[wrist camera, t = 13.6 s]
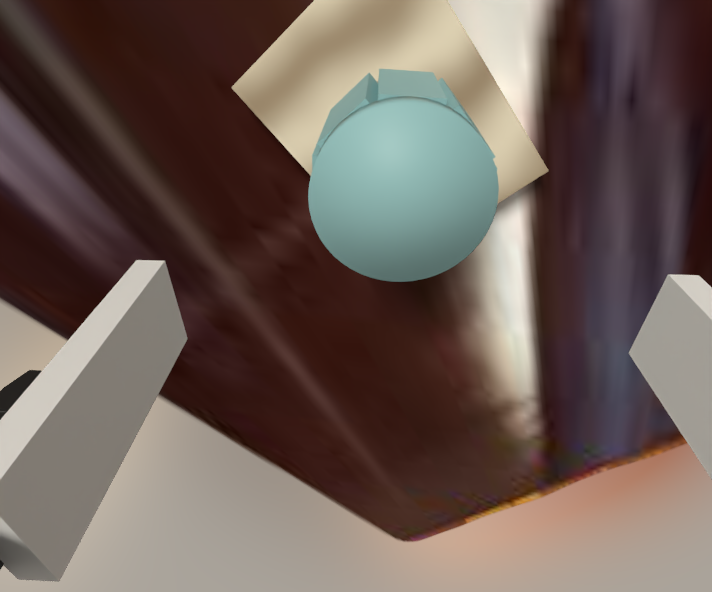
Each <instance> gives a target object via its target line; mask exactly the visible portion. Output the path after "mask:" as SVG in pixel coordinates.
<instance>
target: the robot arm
mask: <svg viewBox="0 0 712 592" xmlns="http://www.w3.org/2000/svg"><path fill="white" fill-rule="evenodd" d="M187 339H188V338H187V335H186V331H185V328H184V325H183V321H182V318H181V314H180V311H179V307H178V304H177V301H176V297H175V294H174V290H173V287H172V283H171V280H170V277H169V273H168V270H167V266H166V263H165V261H153V260H136V261H135V263H134V264H133V265H132V266H131V267H130V268H129V270H128V271H127V272H126V273H125V274H124V275H123V277H122V278H121V279H120V280H119V281H118V282H117V284H116V285H115V286H114V287H113V288H112V290H111V291H110V292H109V293H108V294H107V295H106V297H105V298H104V299H103V300H102V301H101V302H100V304H99V305H98V306H97V307H96V308H95V309H94V311H93V312H92V313H91V314H90V315H89V316H88V318H87V319H86V320H85V321H84V322H83V323H82V325H81V326H80V327H79V328H78V329H77V331H76V332H75V333H74V334H73V335H72V336H71V338H70V339H69V340H68V341H67V342H66V343H65V345H64V346H63V347H62V348H61V349H60V351H59V352H58V353H57V354H56V355H55V356H54V358H53V359H52V360H51V361H50V362H49V363H48V365H47V366H46V367H45V368H44V369H43V370H42V371H36V370H29V371H27V372H26V373H25V374H23V375H22V376H20V377H19V378H17V379H16V380H14V381H13V382H11V383H10V384H9V385H7V386H6V387H4V388H3V389H2V390H1V391H0V569H1V567H2V566H3V565H4V566H5V567H6V568H7V569H8V570H9V571H10V572H11V573H12V574H13V575H14V576H15V577H16V578H17V579H21V580H41V581H60V579H61V577H62V575H63V573H64V571H65V569H66V568H67V566H68V564H69V562H70V560H71V558H72V556H73V554H74V552H75V551H76V549H77V546H78V545H79V543H80V541H81V539H82V537H83V535H84V534H85V531H86V530H87V528H88V526H89V524H90V522H91V520H92V518H93V516H94V515H95V513H96V511H97V509H98V507H99V505H100V503H101V501H102V499H103V498H104V496H105V494H106V492H107V490H108V488H109V486H110V484H111V482H112V481H113V479H114V477H115V475H116V473H117V471H118V469H119V467H120V465H121V464H122V462H123V460H124V458H125V456H126V454H127V452H128V450H129V448H130V447H131V445H132V443H133V441H134V439H135V437H136V435H137V433H138V431H139V429H140V428H141V426H142V424H143V422H144V420H145V418H146V416H147V414H148V413H149V411H150V409H151V407H152V405H153V403H154V401H155V399H156V397H157V395H158V394H159V392H160V390H161V388H162V386H163V384H164V382H165V380H166V378H167V377H168V375H169V373H170V371H171V369H172V367H173V365H174V363H175V361H176V360H177V358H178V356H179V354H180V352H181V350H182V348H183V346H184V344H185V343H186V341H187ZM629 354H630V356H631V358H632V359H633V361H634V362H635V364H636V365H637V367H638V368H639V370H640V371H641V373H642V374H643V376H644V377H645V379H646V380H647V382H648V383H649V385H650V386H651V388H652V389H653V391H654V392H655V394H656V396H657V397H658V399H659V400H660V402H661V403H662V405H663V406H664V408H665V409H666V411H667V412H668V414H669V415H670V417H671V418H672V420H673V421H674V423H675V424H676V426H677V427H678V429H679V430H680V432H681V434H682V435H683V437H684V438H685V440H686V441H687V443H688V444H689V446H690V447H691V449H692V450H693V452H694V453H695V455H696V456H697V458H698V459H699V461H700V462H701V464H702V465H703V467H704V468H705V470H706V471H707V473H708V474H709V476H710V478H711V479H712V287H710V286H709V285H708V284H707V283H706V282H705V281H704V280H703V279H702V278H701V277H700V276H699V275H668V276H667V278H666V280H665V282H664V284H663V286H662V288H661V290H660V292H659V294H658V296H657V298H656V300H655V302H654V304H653V306H652V308H651V310H650V312H649V314H648V316H647V318H646V320H645V322H644V323H643V325H642V327H641V329H640V331H639V333H638V335H637V337H636V339H635V341H634V343H633V345H632V347H631V349H630V351H629Z"/></svg>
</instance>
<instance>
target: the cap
mask: <svg viewBox="0 0 712 592" xmlns="http://www.w3.org/2000/svg"><path fill="white" fill-rule="evenodd" d="M494 158H495V155H494V154H493V152H492V150H491V149H490V147H489V146H488V144H487V143H486V141H485V139H484V138H483V136H482V135H481V133H480V132H479V130H478V128H477V127H476V125H475V124H474V122H473V121H472V119H471V118H470V116H469V115H468V113H467V112H466V111H465V109H464V108H463V106H462V105H461V104H460V102H459V101H458V99H457V98H456V96H455V95H454V94H453V92H452V91H451V89H450V88H449V87H448V85H447V84H446V82H445V81H444V80H443V78H441V79H440V80H439V81H437V79H436V77H435V75H434V73H433V72H421V71H407V70H393V69H379V78H378V83H377V81H376V80H375V79H374V78H373V76H372V75H371V74H370V72H369V73H368V74H367V75H366V76H365V77H364V78H363V79H362V80H361V81H360V82H359V83H358V84H357V85H356V86H355V87H353V88H352V89H351V90H350V91H349V92H348V93H347V94H346V95H345V96H344V97H343V98H342V99H341V100H340V101H339V102H338V103H337V104H336V105H335V106H334V107H333V108H332V109H331V110H330V112H329V115H328V117H327V119H326V122H325V124H324V127H323V129H322V132H321V134H320V137H319V139H318V142H317V144H316V147H315V149H314V152H313V154H312V173H311V178H310V183H309V194H308V199H309V210H310V214H311V219H312V222H313V224H314V227H315V230H316V232H317V234H318V236H319V237H320V239H321V241H322V242H323V244H324V245H325V246H326V248H327V249H328V250H329V251H330V252H331V253H332V255H333V256H334V257H336V258H337V259H338V260H339V261H340V262H341V263H343V264H344V265H346V266H347V267H349V268H350V269H352V270H354V271H356V272H358V273H360V274H362V275H365V276H368V277H371V278H375V279H379V280H384V281H392V282H406V281H416V280H421V279H426V278H429V277H432V276H435V275H438V274H440V273H442V272H444V271H447V270H448V269H450V268H452V267H453V266H455V265H457V264H458V263H459V262H461V261H462V260H463V259H465V258H466V257H467V256H468V255H469V254H470V253H471V252H472V251H473V250H474V249H475V248H476V247H477V246H478V245H479V243H480V242H481V241H482V239H483V238H484V236H485V235H486V233H487V231H488V229H489V227H490V225H491V223H492V221H493V218H494V215H495V212H496V208H497V203H498V193H499V184H498V175H497V167H496V165H495V163H494V160H493V159H494Z"/></svg>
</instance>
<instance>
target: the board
mask: <svg viewBox="0 0 712 592" xmlns="http://www.w3.org/2000/svg"><path fill="white" fill-rule="evenodd" d="M379 69H393V70H407V71H421V72H433V73H434V75H435V77H436V79H437V81H439V80H440V79H441V78H443V80H444V81H445V82H446V84H447V85H448V87H449V88H450V89H451V91H452V92H453V94H454V95H455V96H456V98H457V99H458V101H459V102H460V104H461V105H462V106H463V108H464V109H465V111H466V112H467V113H468V115H469V116H470V118H471V119H472V121H473V122H474V124H475V125H476V127H477V128H478V130H479V132H480V133H481V135H482V136H483V138H484V139H485V141H486V143H487V144H488V146H489V147H490V149H491V150H492V152H493V154H494V155H495V158H494V159H493V160H494V163H495V165H496V167H497V175H498V184H499V193H498V203H500V202H501V201H503V200H504V199H506V198H507V197H509V196H510V195H512V194H514V193H515V192H517V191H518V190H520V189H521V188H523V187H524V186H526V185H527V184H529V183H531V182H532V181H534V180H535V179H537V178H538V177H540V176H541V175H543V174H544V173H546V172H548V169H547V167H546V166H545V164H544V162H543V160H542V159H541V157H540V155H539V154H538V152H537V150H536V149H535V147H534V145H533V144H532V142H531V140H530V139H529V137H528V135H527V134H526V132H525V130H524V128H523V127H522V125H521V123H520V122H519V120H518V118H517V117H516V115H515V113H514V112H513V110H512V108H511V107H510V105H509V103H508V102H507V100H506V98H505V97H504V95H503V93H502V91H501V90H500V88H499V86H498V85H497V83H496V81H495V80H494V78H493V76H492V75H491V73H490V71H489V70H488V68H487V66H486V65H485V63H484V61H483V60H482V58H481V56H480V54H479V53H478V51H477V49H476V48H475V46H474V44H473V43H472V41H471V39H470V38H469V36H468V34H467V33H466V31H465V29H464V28H463V26H462V24H461V23H460V21H459V19H458V17H457V16H456V14H455V12H454V11H453V9H452V7H451V6H450V4H449V2H448V1H447V0H314V1H313V2H312V3H311V4H310V5H309V7H308V8H307V9H306V10H305V11H304V12H303V13H302V14H301V15H300V16H299V17H298V18H297V19H296V20H295V21H294V22H293V23H292V24H291V25H290V26H289V28H288V29H287V30H286V31H285V32H284V33H283V34H282V35H281V36H280V37H279V38H278V39H277V40H276V41H275V42H274V43H273V44H272V45H271V46H270V47H269V49H268V50H267V51H266V52H265V53H264V54H263V55H262V56H261V57H260V58H259V59H258V60H257V61H256V62H255V63H254V64H253V65H252V66H251V67H250V68H249V70H248V71H247V72H246V73H245V74H244V75H243V76H242V77H241V78H240V79H239V80H238V81H237V82H236V83H235V84H234V85H233V86H232V87H231V88H232V89H233V90H234V91H235V92H236V93H237V94H238V96H239V97H240V98H241V99H242V100H243V101H244V102H245V103H246V104H247V106H248V107H249V108H250V109H251V110H252V111H253V112H254V113H255V114H256V116H257V117H258V118H259V119H260V120H261V121H262V122H263V123H264V124H265V126H266V127H267V128H268V129H269V130H270V131H271V132H272V133H273V134H274V136H275V137H276V138H277V139H278V140H279V141H280V142H281V143H282V145H283V146H284V147H285V148H286V149H287V150H288V151H289V152H290V153H291V155H292V156H293V157H294V158H295V159H296V160H297V161H298V162H299V163H300V165H301V166H302V167H303V168H304V169H305V170H306V171H307V172H308V173H309V175H310V176H311V173H312V154H313V152H314V149H315V147H316V144H317V142H318V139H319V137H320V134H321V132H322V129H323V127H324V124H325V122H326V119H327V117H328V115H329V112H330V110H331V109H332V108H333V107H334V106H335V105H336V104H337V103H338V102H339V101H340V100H341V99H342V98H343V97H344V96H345V95H346V94H347V93H348V92H349V91H350V90H351V89H352V88H353V87H355V86H356V85H357V84H358V83H359V82H360V81H361V80H362V79H363V78H364V77H365V76H366V75H367V74H368V73H369V72H370V74H371V75H372V76H373V78H374V79H375V80H376V81H378V78H379ZM498 203H497V204H498Z"/></svg>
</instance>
